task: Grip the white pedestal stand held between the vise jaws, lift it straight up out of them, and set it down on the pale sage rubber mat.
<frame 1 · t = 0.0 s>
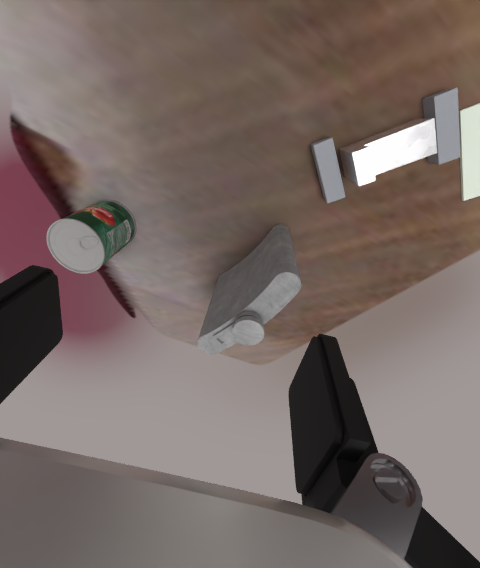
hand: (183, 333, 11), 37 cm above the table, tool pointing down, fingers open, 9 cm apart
white pedestal stand: (378, 149, 40), on the table
hip flask: (253, 259, 50), on the table
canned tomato: (113, 223, 49), on the table
vise jaws: (378, 149, 40), on the table
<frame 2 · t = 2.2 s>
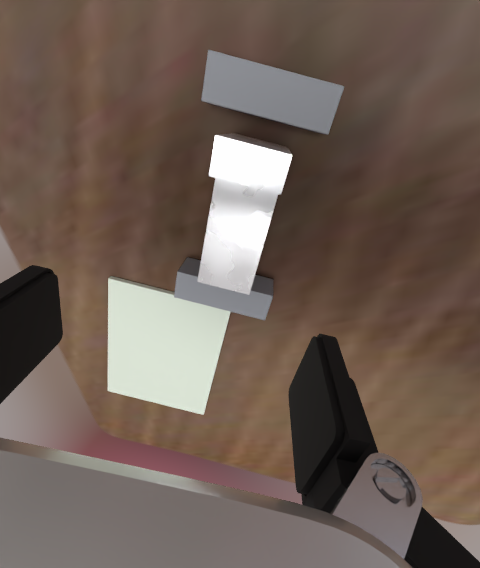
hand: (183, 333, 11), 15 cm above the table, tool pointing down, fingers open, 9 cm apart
mat: (163, 352, 32), on the table
white pedestal stand: (244, 206, 23), on the table
vise jaws: (246, 203, 23), on the table
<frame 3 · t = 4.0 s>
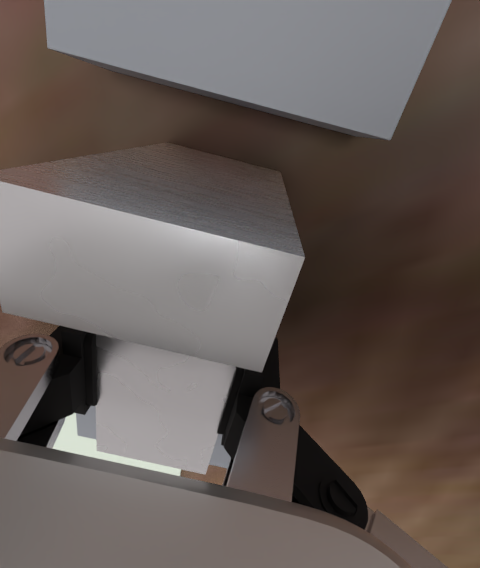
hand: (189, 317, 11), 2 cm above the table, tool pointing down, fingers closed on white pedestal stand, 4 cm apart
mat: (93, 472, 21), on the table
white pedestal stand: (201, 280, 12), on the table, touching gripper
vise jaws: (204, 268, 12), on the table
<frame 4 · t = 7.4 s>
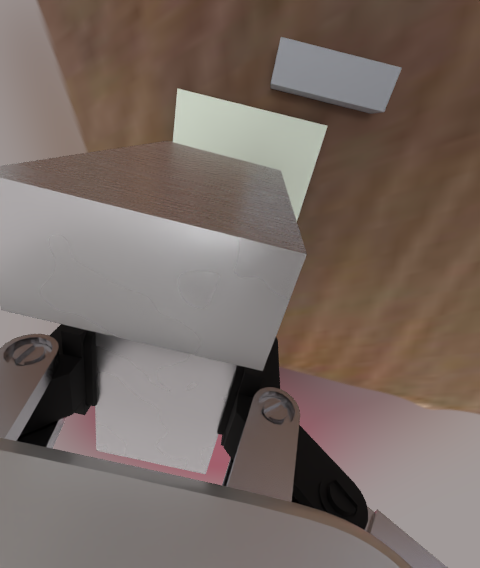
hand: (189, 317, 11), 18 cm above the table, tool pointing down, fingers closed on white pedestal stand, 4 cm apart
mat: (233, 206, 27), on the table
white pedestal stand: (201, 279, 12), point 16 cm above the table, touching gripper
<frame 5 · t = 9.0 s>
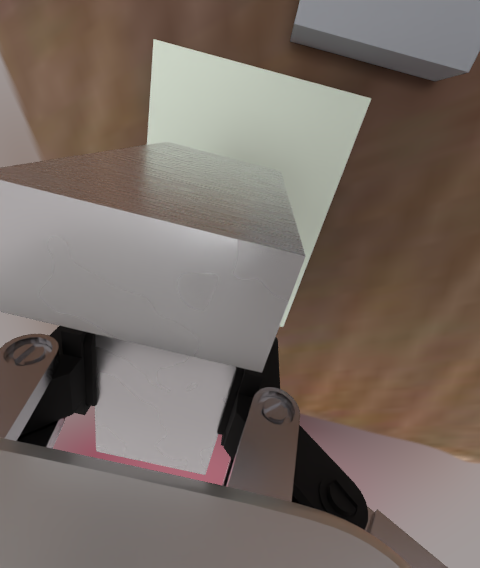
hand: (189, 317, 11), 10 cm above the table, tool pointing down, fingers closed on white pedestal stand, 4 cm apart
mat: (232, 211, 20), on the table
white pedestal stand: (201, 280, 12), point 9 cm above the table, touching gripper
when the fingers open (3 cm above the table, at t = 10.6 s): white pedestal stand drops 1 cm, resting on mat.
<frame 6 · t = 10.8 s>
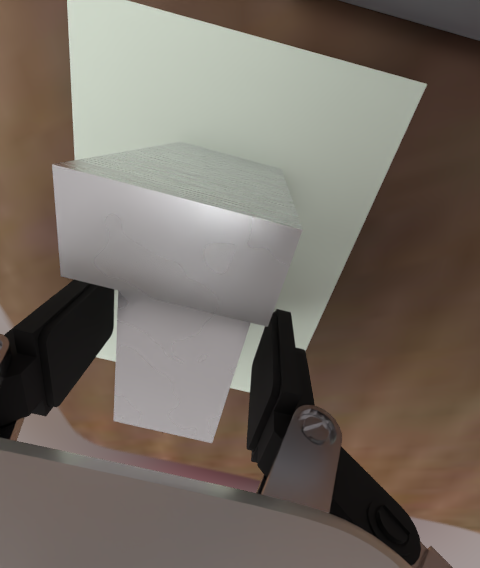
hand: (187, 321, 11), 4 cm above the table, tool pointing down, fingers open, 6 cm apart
mat: (210, 252, 14), on the table
white pedestal stand: (208, 268, 13), resting on mat
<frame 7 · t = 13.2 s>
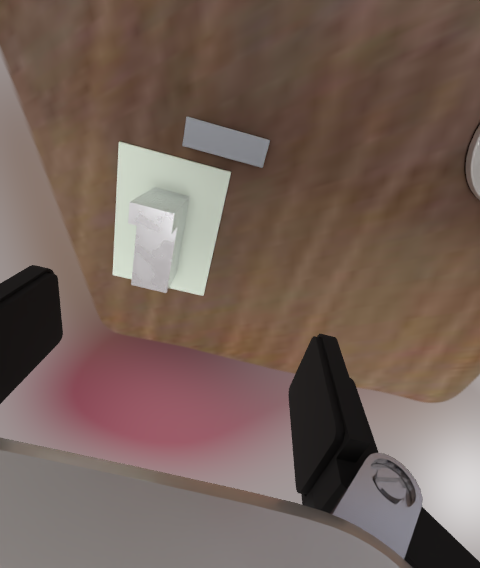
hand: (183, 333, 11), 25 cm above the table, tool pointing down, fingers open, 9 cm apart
mat: (167, 227, 35), on the table
white pedestal stand: (166, 233, 35), resting on mat
vise jaws: (245, 57, 27), on the table
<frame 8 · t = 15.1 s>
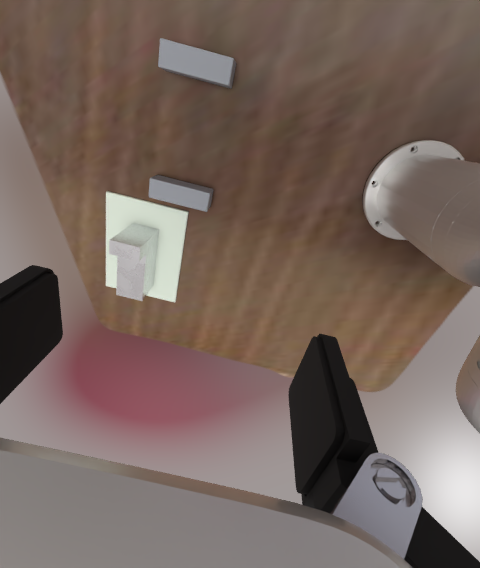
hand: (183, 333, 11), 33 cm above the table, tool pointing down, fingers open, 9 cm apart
mat: (144, 250, 46), on the table
white pedestal stand: (143, 255, 46), resting on mat
vise jaws: (191, 134, 37), on the table
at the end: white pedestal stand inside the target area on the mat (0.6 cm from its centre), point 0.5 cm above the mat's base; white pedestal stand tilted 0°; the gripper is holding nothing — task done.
